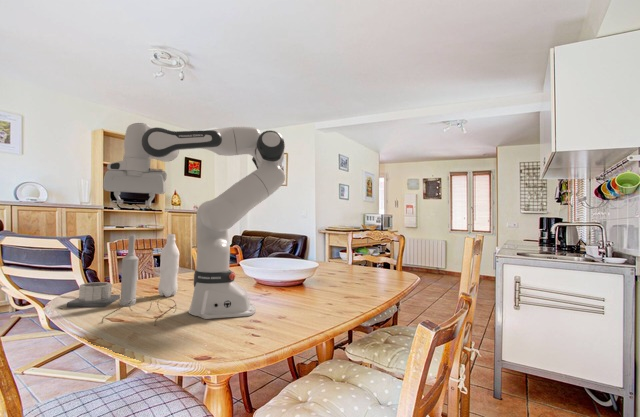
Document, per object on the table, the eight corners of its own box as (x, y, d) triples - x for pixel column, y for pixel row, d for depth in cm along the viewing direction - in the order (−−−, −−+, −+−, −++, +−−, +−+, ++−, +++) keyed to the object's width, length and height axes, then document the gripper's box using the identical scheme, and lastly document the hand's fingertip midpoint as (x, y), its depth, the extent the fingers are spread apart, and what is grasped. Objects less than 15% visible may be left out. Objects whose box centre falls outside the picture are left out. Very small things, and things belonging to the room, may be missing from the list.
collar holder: (119, 298, 124) (120, 281, 124) (105, 306, 112) (106, 288, 113) (84, 298, 122) (86, 281, 122) (66, 307, 110) (67, 287, 110)
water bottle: (161, 293, 135) (165, 233, 136) (179, 293, 136) (183, 234, 137) (155, 297, 128) (158, 234, 129) (173, 297, 129) (177, 235, 130)
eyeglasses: (177, 313, 110) (178, 298, 110) (154, 327, 95) (155, 310, 95) (131, 311, 110) (132, 296, 110) (101, 325, 95) (102, 308, 96)
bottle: (126, 307, 113) (131, 235, 114) (115, 305, 115) (120, 235, 116) (139, 303, 118) (143, 235, 119) (128, 302, 120) (133, 234, 121)
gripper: (169, 170, 124) (166, 206, 123) (110, 166, 120) (107, 204, 119) (164, 168, 117) (162, 206, 117) (102, 164, 113) (99, 203, 113)
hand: (134, 205), depth 118 cm, fingers open, 8 cm apart
